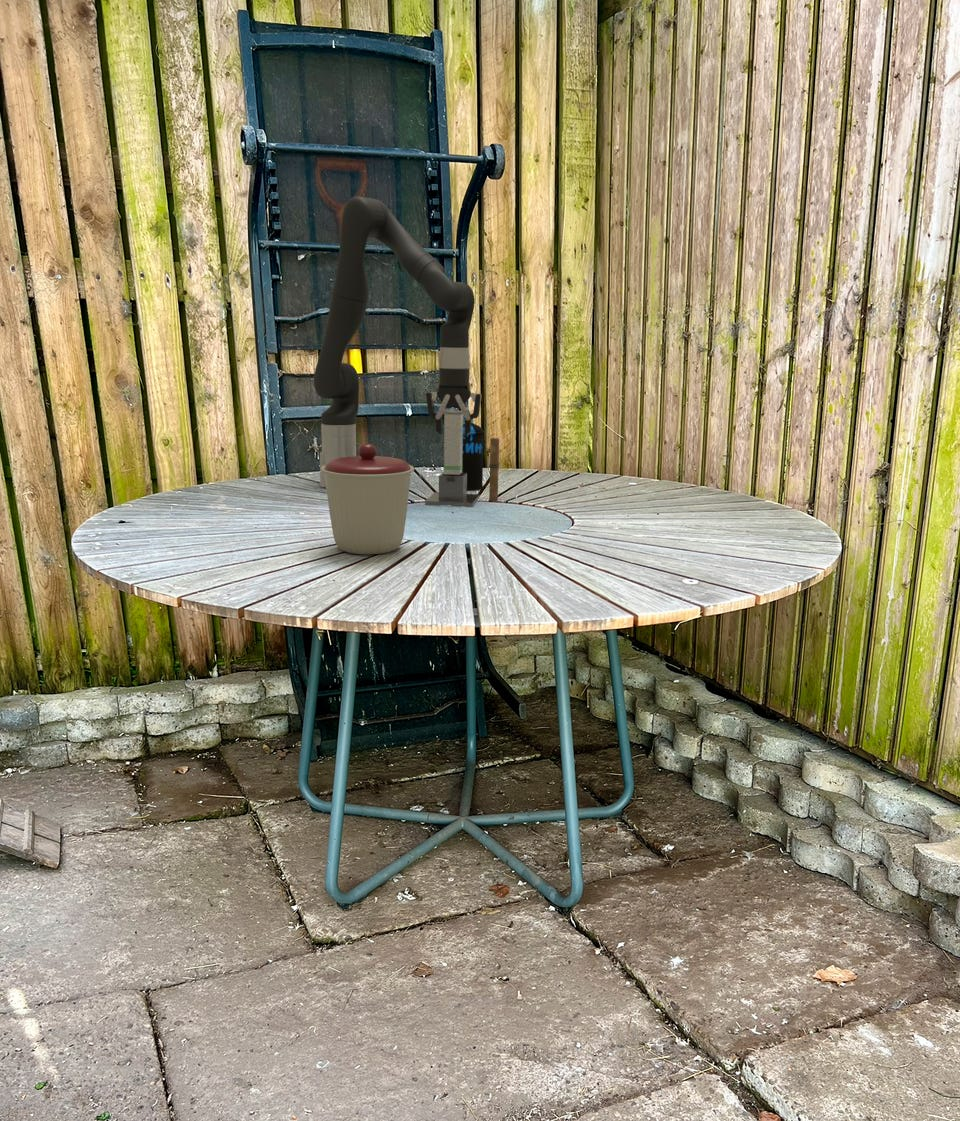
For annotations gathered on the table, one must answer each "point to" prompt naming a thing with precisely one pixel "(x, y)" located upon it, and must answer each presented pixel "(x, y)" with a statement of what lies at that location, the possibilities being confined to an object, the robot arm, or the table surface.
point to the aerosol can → (473, 457)
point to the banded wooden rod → (494, 469)
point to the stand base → (452, 492)
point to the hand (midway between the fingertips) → (453, 434)
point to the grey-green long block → (453, 442)
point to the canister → (367, 501)
